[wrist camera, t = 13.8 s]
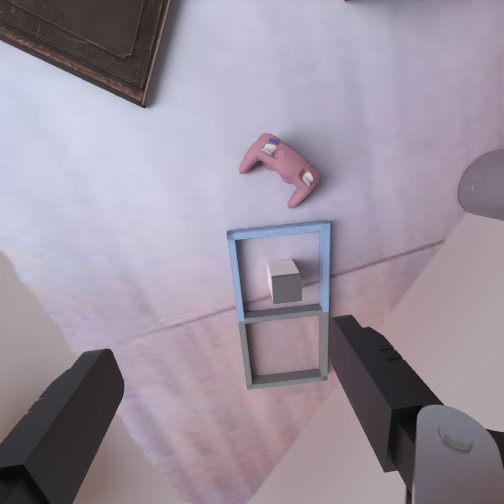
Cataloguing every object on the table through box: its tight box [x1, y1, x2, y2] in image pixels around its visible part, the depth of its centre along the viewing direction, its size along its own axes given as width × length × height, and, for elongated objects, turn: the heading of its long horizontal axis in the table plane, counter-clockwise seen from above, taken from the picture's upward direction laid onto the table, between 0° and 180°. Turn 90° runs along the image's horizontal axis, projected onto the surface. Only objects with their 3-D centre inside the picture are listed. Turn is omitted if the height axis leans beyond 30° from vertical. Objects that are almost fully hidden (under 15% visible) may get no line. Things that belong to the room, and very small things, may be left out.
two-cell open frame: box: [227, 221, 330, 390], centre depth 41 cm, size 15×30×2 cm, turn 5°
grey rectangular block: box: [267, 259, 302, 304], centre depth 37 cm, size 4×4×6 cm
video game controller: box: [239, 133, 320, 208], centre depth 32 cm, size 10×5×7 cm, turn 56°
